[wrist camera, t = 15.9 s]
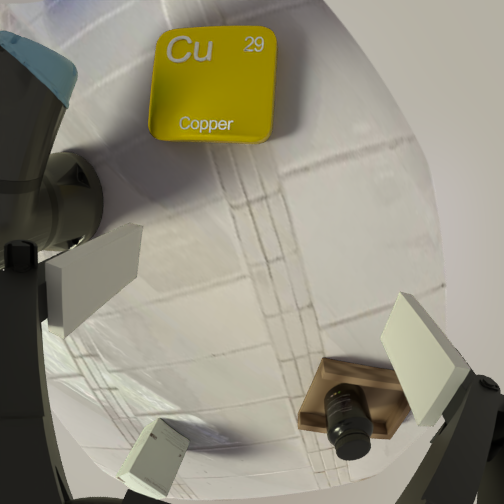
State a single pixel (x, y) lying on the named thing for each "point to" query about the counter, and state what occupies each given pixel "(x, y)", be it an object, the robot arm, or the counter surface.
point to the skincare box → (154, 460)
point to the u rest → (375, 388)
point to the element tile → (214, 85)
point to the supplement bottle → (348, 421)
